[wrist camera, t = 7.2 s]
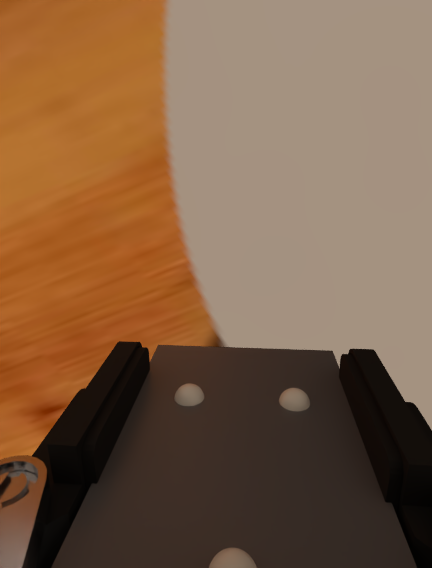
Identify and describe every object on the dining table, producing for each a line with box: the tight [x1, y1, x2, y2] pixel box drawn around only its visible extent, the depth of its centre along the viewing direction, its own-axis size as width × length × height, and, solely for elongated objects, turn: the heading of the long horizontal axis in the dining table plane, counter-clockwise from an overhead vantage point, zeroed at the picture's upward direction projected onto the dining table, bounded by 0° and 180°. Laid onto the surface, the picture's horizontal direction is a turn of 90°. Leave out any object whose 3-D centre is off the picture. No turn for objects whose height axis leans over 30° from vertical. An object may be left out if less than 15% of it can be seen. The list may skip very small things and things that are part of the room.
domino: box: [51, 345, 417, 568], centre depth 7 cm, size 2×5×9 cm, turn 91°
